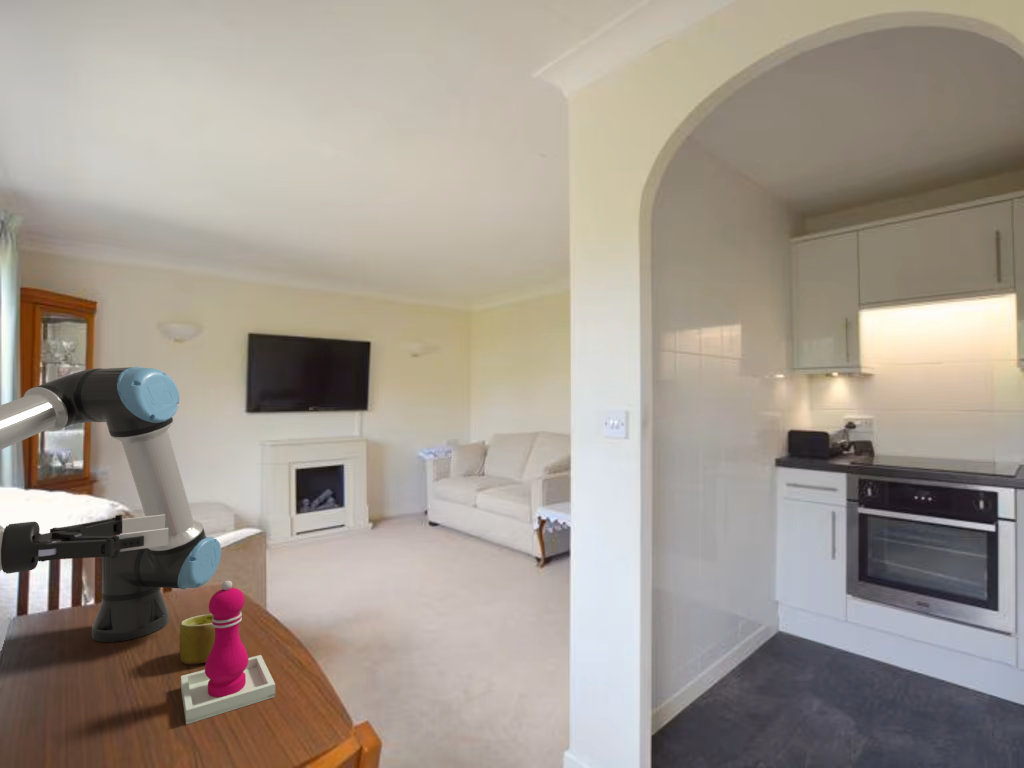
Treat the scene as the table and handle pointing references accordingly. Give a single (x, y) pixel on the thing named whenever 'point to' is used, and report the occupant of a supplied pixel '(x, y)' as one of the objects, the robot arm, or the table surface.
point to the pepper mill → (226, 643)
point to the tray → (207, 706)
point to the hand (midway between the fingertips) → (166, 528)
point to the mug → (196, 639)
